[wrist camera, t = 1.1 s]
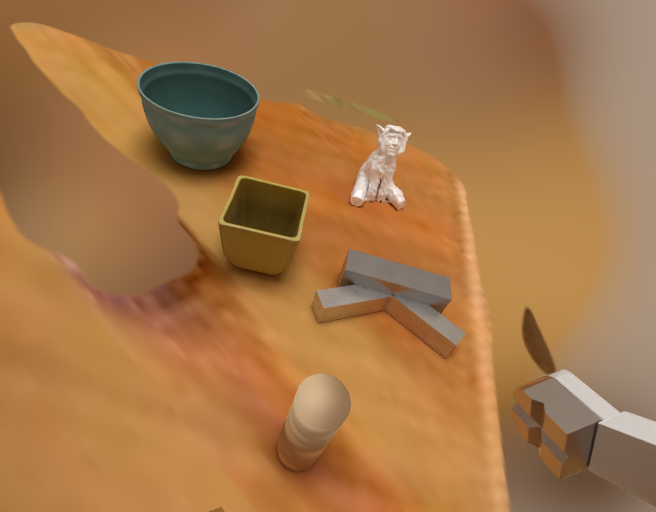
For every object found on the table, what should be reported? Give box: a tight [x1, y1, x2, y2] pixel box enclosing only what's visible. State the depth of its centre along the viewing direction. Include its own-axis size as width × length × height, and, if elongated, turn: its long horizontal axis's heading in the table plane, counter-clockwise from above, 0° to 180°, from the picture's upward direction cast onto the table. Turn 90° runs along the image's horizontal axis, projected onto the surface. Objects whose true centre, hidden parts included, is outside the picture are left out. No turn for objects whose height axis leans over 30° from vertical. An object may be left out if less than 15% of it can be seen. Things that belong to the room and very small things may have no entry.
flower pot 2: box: [218, 176, 309, 275], centre depth 47 cm, size 9×9×9 cm
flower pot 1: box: [137, 62, 259, 170], centre depth 58 cm, size 16×16×11 cm
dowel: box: [276, 374, 351, 472], centre depth 32 cm, size 4×4×11 cm
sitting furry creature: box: [350, 124, 411, 210], centre depth 61 cm, size 10×9×12 cm
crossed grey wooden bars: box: [312, 249, 465, 358], centre depth 47 cm, size 18×8×5 cm, turn 80°
